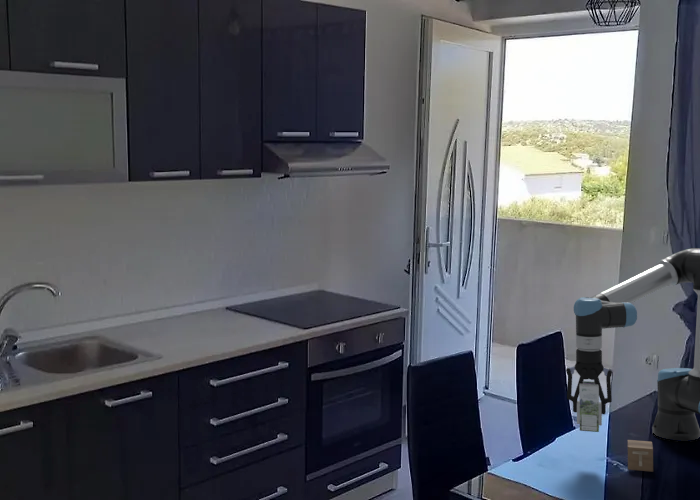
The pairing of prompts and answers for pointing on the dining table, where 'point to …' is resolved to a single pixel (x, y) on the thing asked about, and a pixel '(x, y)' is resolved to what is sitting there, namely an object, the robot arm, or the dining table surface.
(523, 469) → the dining table surface
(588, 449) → the dining table surface
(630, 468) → the letter cube
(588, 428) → the syrup box
